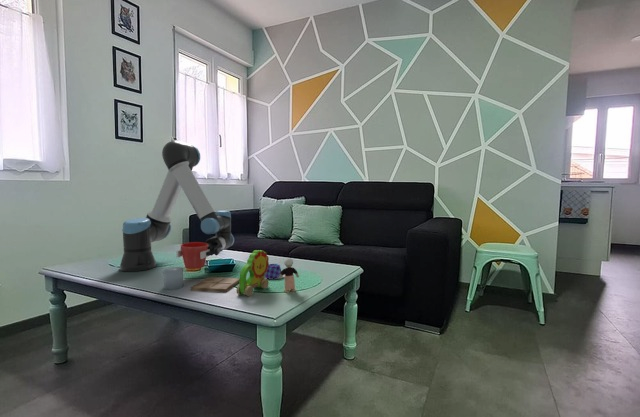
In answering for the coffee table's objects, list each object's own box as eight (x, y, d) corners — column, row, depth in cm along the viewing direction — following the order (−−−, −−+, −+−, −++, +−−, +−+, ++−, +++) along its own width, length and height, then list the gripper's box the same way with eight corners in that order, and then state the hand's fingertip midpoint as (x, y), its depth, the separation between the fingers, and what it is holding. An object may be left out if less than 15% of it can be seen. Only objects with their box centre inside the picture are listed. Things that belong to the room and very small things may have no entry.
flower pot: (199, 270, 135) (199, 247, 134) (175, 268, 137) (175, 245, 136) (212, 264, 145) (212, 242, 144) (190, 262, 147) (190, 241, 146)
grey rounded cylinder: (160, 289, 127) (159, 271, 126) (171, 283, 134) (170, 266, 133) (176, 290, 126) (176, 272, 125) (187, 284, 133) (186, 267, 132)
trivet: (190, 290, 125) (190, 286, 125) (208, 279, 139) (208, 276, 139) (225, 292, 123) (225, 288, 123) (240, 281, 137) (240, 277, 137)
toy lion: (247, 298, 117) (247, 255, 116) (235, 295, 120) (234, 254, 118) (272, 285, 132) (272, 248, 130) (261, 283, 134) (260, 246, 133)
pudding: (292, 275, 147) (292, 264, 146) (274, 282, 137) (273, 269, 136) (272, 271, 153) (272, 260, 153) (253, 277, 144) (253, 265, 143)
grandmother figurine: (295, 288, 128) (295, 256, 127) (300, 290, 125) (300, 257, 124) (277, 291, 124) (277, 258, 123) (281, 294, 121) (281, 260, 120)
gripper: (236, 254, 157) (214, 265, 135) (192, 251, 160) (164, 262, 138) (236, 238, 156) (214, 247, 134) (192, 236, 159) (164, 244, 138)
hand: (189, 254), depth 136 cm, fingers closed on flower pot, 10 cm apart
